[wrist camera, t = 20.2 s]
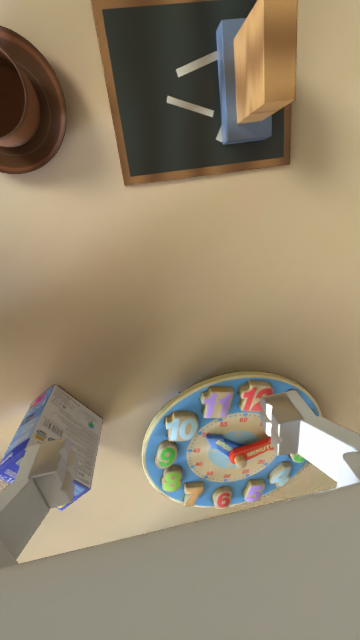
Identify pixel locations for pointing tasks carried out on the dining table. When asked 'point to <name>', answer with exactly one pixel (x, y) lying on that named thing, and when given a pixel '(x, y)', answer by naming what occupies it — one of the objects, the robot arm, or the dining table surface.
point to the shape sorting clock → (220, 442)
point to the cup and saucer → (28, 106)
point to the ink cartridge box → (57, 436)
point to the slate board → (175, 90)
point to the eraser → (256, 69)
